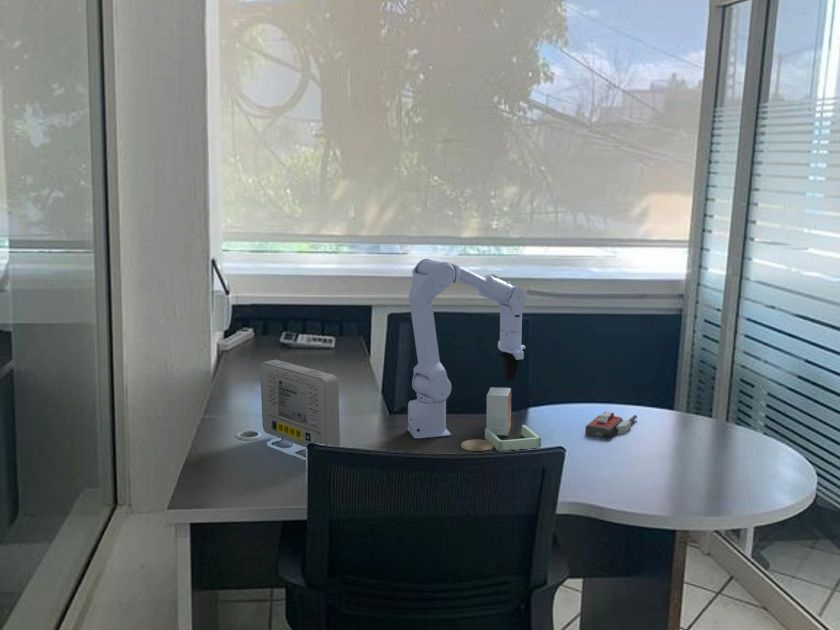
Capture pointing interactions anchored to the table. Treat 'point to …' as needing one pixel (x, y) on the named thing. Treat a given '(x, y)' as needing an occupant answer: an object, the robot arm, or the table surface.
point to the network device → (299, 404)
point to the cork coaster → (477, 445)
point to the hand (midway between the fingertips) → (510, 380)
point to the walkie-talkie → (608, 426)
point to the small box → (499, 410)
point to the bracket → (515, 440)
